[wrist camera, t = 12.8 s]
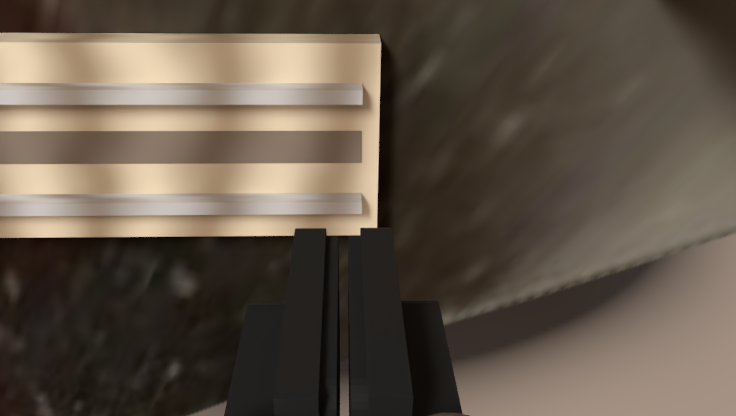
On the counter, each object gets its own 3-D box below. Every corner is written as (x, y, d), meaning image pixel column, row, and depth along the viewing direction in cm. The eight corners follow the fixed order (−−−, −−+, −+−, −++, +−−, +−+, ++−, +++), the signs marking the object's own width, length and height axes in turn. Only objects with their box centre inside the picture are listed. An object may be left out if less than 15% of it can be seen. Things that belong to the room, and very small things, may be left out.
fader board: (-161, 222, 41) (-198, 249, 38) (-245, 32, 35) (-297, 47, 32) (375, 219, 42) (377, 245, 39) (379, 34, 36) (382, 49, 33)
